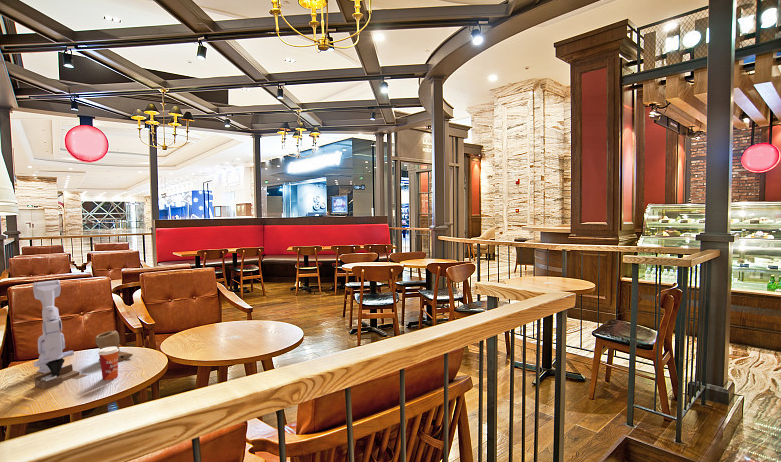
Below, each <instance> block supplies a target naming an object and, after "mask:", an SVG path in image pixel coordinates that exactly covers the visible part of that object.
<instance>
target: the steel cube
mask: <svg viewBox="0 0 781 462" xmlns="http://www.w3.org/2000/svg"><path fill="white" fill-rule="evenodd" d="M55 379H57V376H56V375H52V374H51V375H48V376H45V377H43V378H41V382H49V381H52V380H55Z"/></svg>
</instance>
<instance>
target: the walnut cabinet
mask: <svg viewBox="0 0 781 462" xmlns="http://www.w3.org/2000/svg"><path fill="white" fill-rule="evenodd" d="M63 366H64V367H61V370H60V374H59V376H57V379H55V380H52V381H49V382H41V378H43V377H45V376H48V375H51V374H52V373H51V371H50V372H47V373H42V374H38V375H36V376H34V377H33V378H34V387H35V388H38V389H39V388H40V389H43V390H47V389H50V388H53V387H54V386H57V385H60V384H62V383H63V382H64V381H67V380H69V379H74V380H79V379H82V378H85V377H87V376H88V375H87V374H83V373H80V371H76V370H73V364H71V363H70V364H68V365H63Z"/></svg>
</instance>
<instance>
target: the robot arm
mask: <svg viewBox="0 0 781 462" xmlns="http://www.w3.org/2000/svg"><path fill="white" fill-rule="evenodd" d="M32 290H33V296H34V298H35V300H39V301H40V303H41V305H42V310H41V314H42V315H41V316H42V323H41V324H42V325H41V326H42V327H41V328H42V334H41V335H40V336H39V337H38V339H37V351H38V354H39V356H38V360H37V361H36V360H35V361H34V362H33V367H35V368H38V370H36V372H38V373H42V374H44V373H47V372H50V371H51V373H52V375H56V376H59V374H60V370H61V367H64V366H65V365H64V363H65V362H66V361H65V358H67V357H72V356H74V355H75V351H74V350H68V351H64V352H63V350H64V349H66V341H65V335H64V333H62V332H63V324H62V323H63V322H62V320H61V317H60V312H59V311H60V310H59V308H58V307H56V306H55V300H56V298H57V297H60V295H61V291H62V289H61V280H59V279H56V280H47V281H46V280H45V281H38V282H35V281H34V282H33V283H32Z"/></svg>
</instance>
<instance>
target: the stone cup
mask: <svg viewBox="0 0 781 462" xmlns="http://www.w3.org/2000/svg"><path fill="white" fill-rule="evenodd" d="M94 339H95V340H94V341H95V343H96V346H97V347H98V349H99V351H100V350H101V349H103V348H107V347H117V348H118V349H119V351H118V362H121V361H123V360H124V361H126V360H129V359H130V358H131V357H132V356H133V355H134V354H133V353H130V352H126V351H120V341H121V340H120V335H119V332H118V331H117V330H108V331H105V332H102V333H99V334H97V335H96V336H95V338H94ZM124 361H123V362H124Z"/></svg>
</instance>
